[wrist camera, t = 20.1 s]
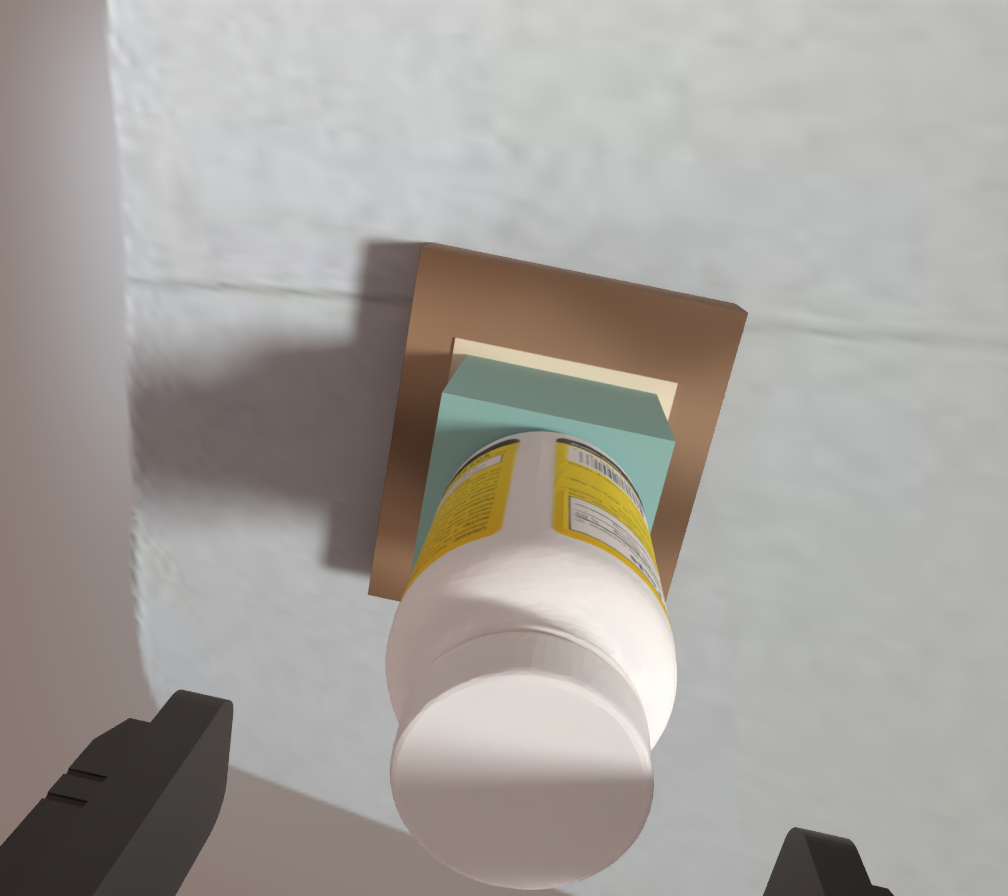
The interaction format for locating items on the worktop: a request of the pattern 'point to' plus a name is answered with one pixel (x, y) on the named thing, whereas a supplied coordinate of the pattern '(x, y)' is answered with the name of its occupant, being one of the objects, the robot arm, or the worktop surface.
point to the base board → (560, 349)
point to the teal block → (545, 425)
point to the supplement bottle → (531, 667)
